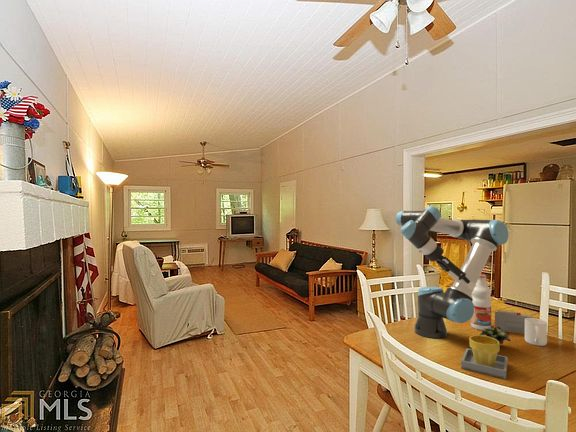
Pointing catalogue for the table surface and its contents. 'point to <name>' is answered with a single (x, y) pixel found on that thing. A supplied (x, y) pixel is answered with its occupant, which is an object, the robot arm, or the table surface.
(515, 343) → the table surface
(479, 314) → the fruit juice
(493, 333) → the green leafy plant
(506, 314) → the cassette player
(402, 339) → the table surface
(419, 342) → the table surface
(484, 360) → the plant pot
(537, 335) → the mug
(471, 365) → the tray
